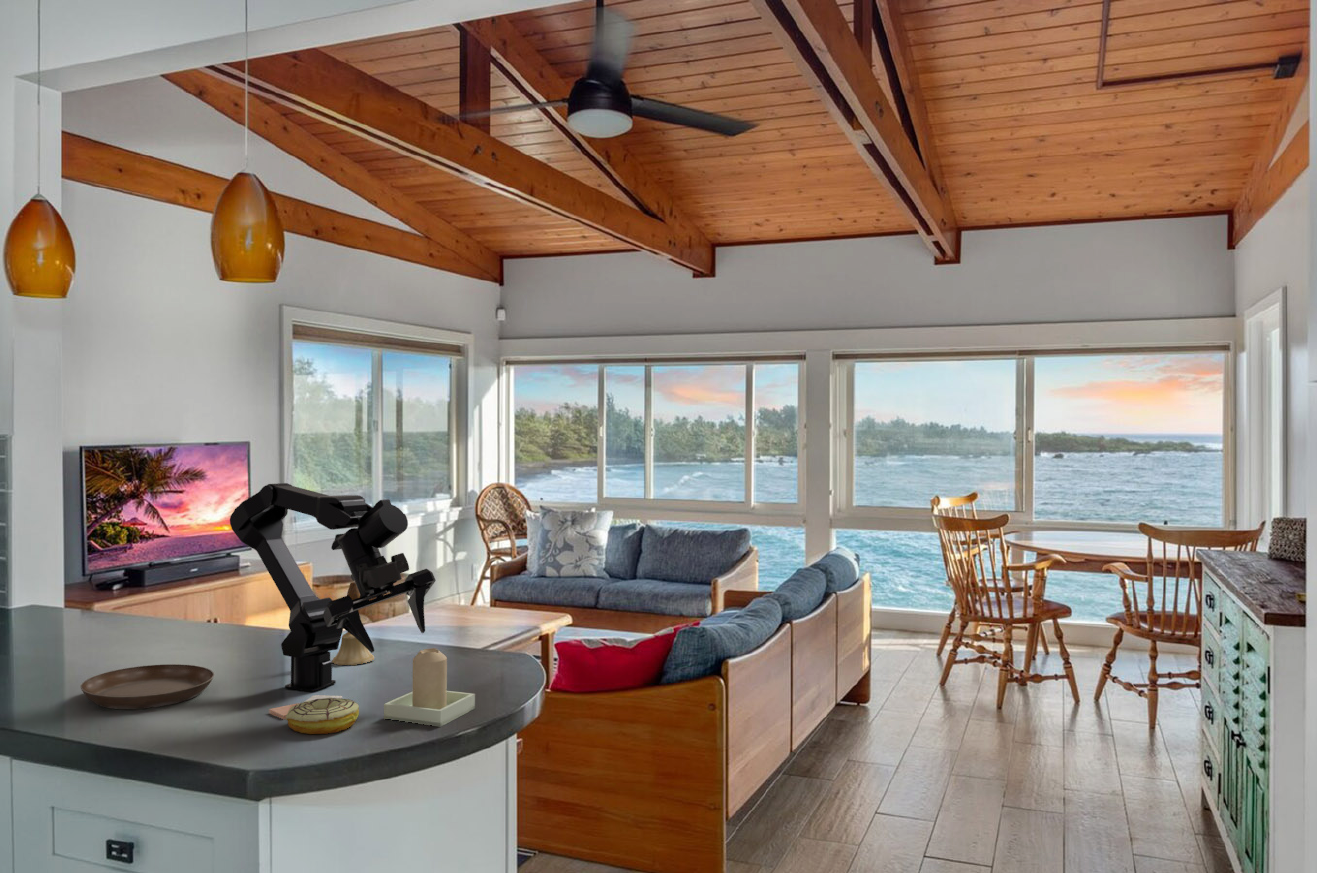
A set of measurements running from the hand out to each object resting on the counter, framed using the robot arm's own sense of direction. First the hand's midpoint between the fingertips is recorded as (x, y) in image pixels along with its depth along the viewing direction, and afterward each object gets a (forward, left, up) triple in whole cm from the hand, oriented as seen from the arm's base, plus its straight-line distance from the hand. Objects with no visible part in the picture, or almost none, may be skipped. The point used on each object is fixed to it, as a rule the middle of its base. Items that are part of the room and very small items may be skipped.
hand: (398, 641), depth 162 cm
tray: (+8, -2, -11) cm, 14 cm away
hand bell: (-27, +23, -11) cm, 37 cm away
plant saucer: (-44, -11, -11) cm, 46 cm away
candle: (+8, -2, -11) cm, 13 cm away
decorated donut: (-4, -14, -11) cm, 18 cm away
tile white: (-13, -4, -11) cm, 18 cm away
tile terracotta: (-14, -10, -11) cm, 21 cm away
